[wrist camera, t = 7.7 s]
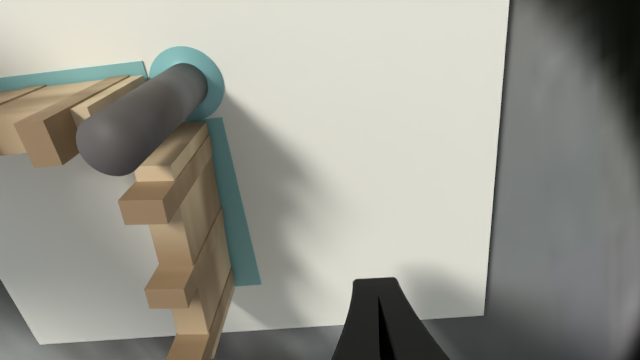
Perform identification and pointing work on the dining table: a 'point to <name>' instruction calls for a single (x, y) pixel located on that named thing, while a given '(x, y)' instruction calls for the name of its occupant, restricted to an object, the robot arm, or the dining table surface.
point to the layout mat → (268, 157)
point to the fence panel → (185, 238)
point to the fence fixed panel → (99, 118)
